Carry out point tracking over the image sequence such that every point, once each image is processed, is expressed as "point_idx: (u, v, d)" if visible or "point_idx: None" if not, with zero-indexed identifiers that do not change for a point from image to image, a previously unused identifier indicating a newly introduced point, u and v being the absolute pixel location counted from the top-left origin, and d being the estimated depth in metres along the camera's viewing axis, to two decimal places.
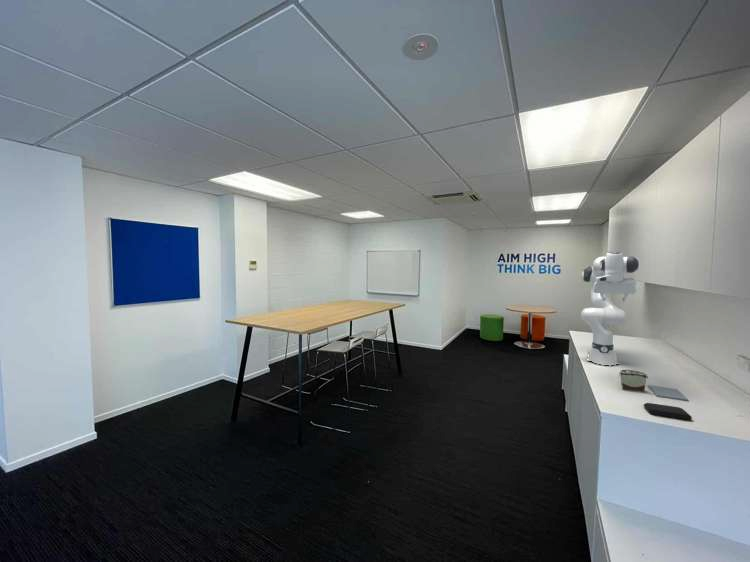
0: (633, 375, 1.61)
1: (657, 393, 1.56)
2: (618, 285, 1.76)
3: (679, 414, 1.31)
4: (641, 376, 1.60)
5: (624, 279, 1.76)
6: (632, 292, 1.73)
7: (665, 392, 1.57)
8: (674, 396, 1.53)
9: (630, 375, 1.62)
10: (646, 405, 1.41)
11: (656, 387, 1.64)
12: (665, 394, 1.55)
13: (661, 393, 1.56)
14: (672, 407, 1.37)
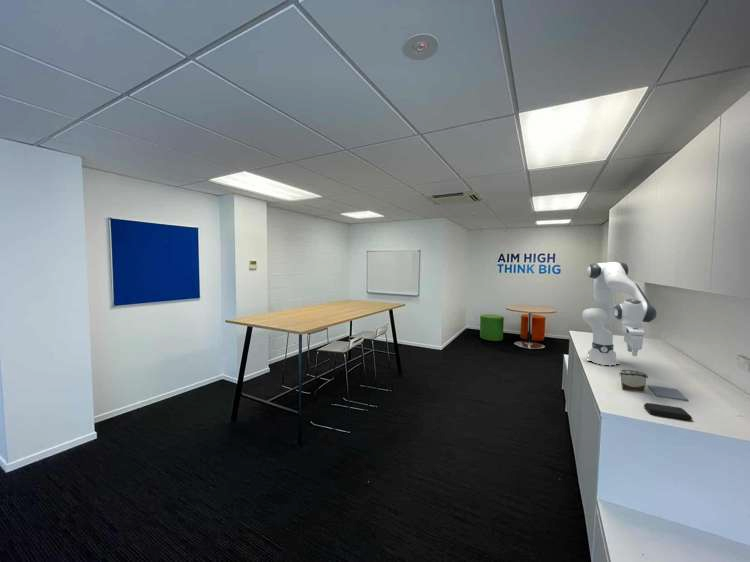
0: (633, 375, 1.61)
1: (657, 393, 1.56)
2: None
3: (679, 414, 1.31)
4: (641, 376, 1.60)
5: None
6: None
7: (665, 392, 1.57)
8: (674, 396, 1.53)
9: (630, 375, 1.62)
10: (646, 405, 1.40)
11: (656, 387, 1.64)
12: (665, 394, 1.55)
13: (661, 393, 1.56)
14: (672, 407, 1.37)
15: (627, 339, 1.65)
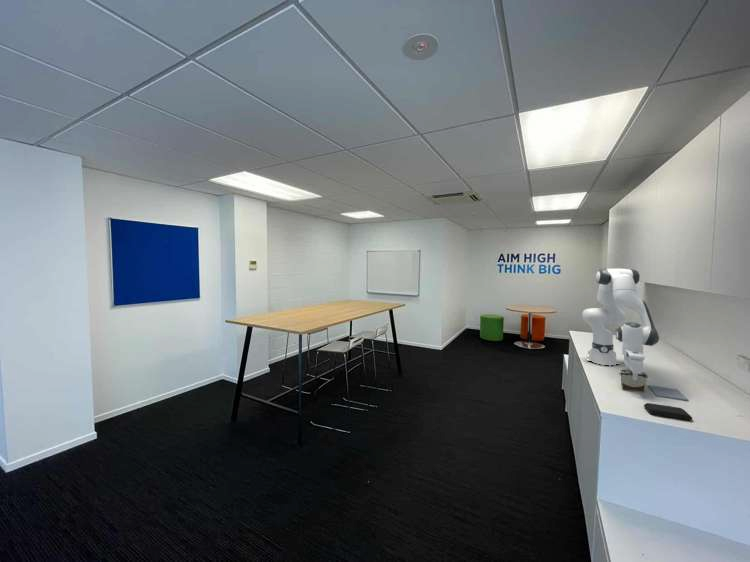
0: None
1: (657, 393, 1.56)
2: None
3: (679, 414, 1.31)
4: (641, 376, 1.60)
5: None
6: None
7: (665, 392, 1.57)
8: (674, 396, 1.53)
9: (630, 375, 1.62)
10: (646, 405, 1.40)
11: (656, 387, 1.64)
12: (665, 394, 1.55)
13: (661, 393, 1.56)
14: (672, 407, 1.37)
15: (627, 362, 1.66)
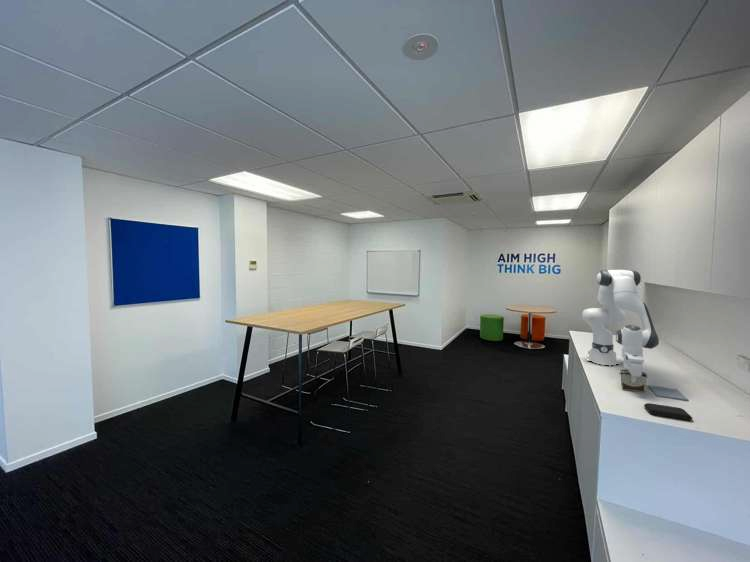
0: None
1: (657, 393, 1.56)
2: None
3: (679, 414, 1.31)
4: (641, 376, 1.60)
5: None
6: None
7: (665, 392, 1.57)
8: (674, 396, 1.53)
9: (630, 375, 1.62)
10: (646, 405, 1.40)
11: (656, 387, 1.64)
12: (665, 394, 1.55)
13: (661, 393, 1.56)
14: (673, 407, 1.37)
15: (626, 365, 1.66)
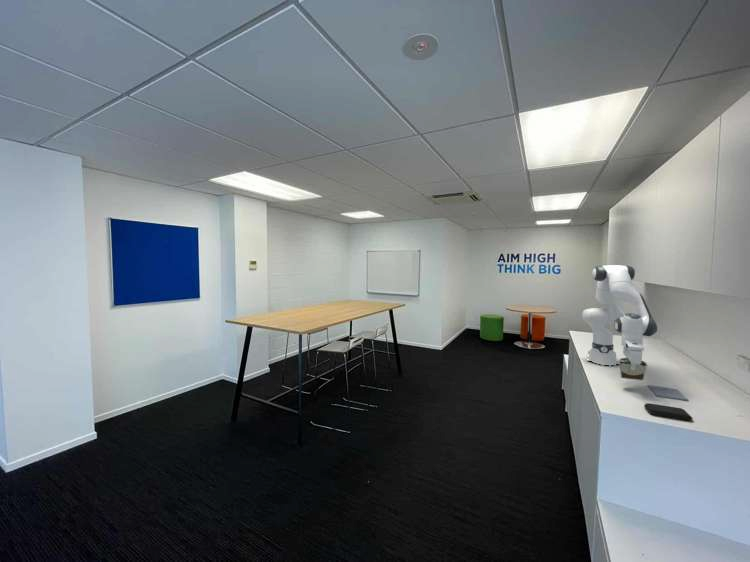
0: None
1: (657, 393, 1.56)
2: None
3: (679, 414, 1.31)
4: (640, 365, 1.60)
5: None
6: None
7: (665, 392, 1.57)
8: (674, 396, 1.53)
9: (629, 364, 1.62)
10: (646, 405, 1.40)
11: (656, 387, 1.64)
12: (665, 394, 1.55)
13: (661, 393, 1.56)
14: (673, 407, 1.36)
15: (626, 353, 1.66)
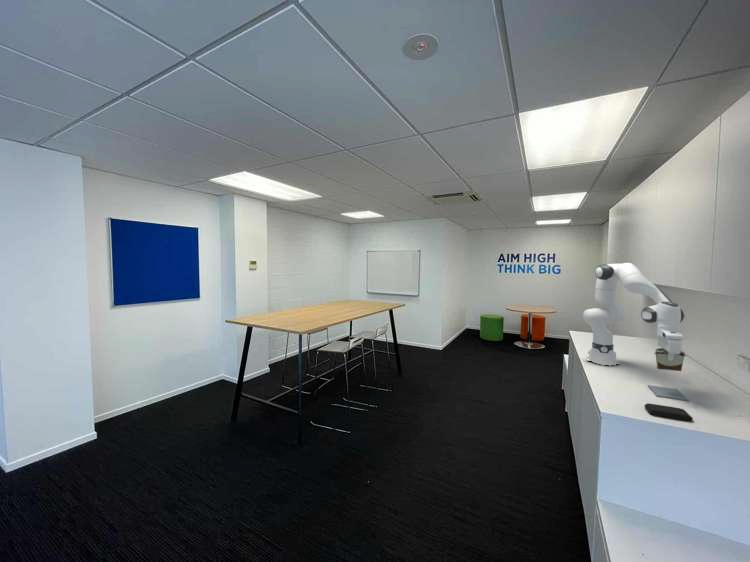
0: None
1: (657, 393, 1.56)
2: None
3: (679, 414, 1.31)
4: (678, 355, 1.53)
5: None
6: None
7: (665, 392, 1.57)
8: (674, 396, 1.53)
9: (666, 354, 1.55)
10: (647, 406, 1.40)
11: (656, 387, 1.64)
12: (665, 394, 1.55)
13: (661, 393, 1.56)
14: (673, 408, 1.36)
15: (662, 343, 1.59)
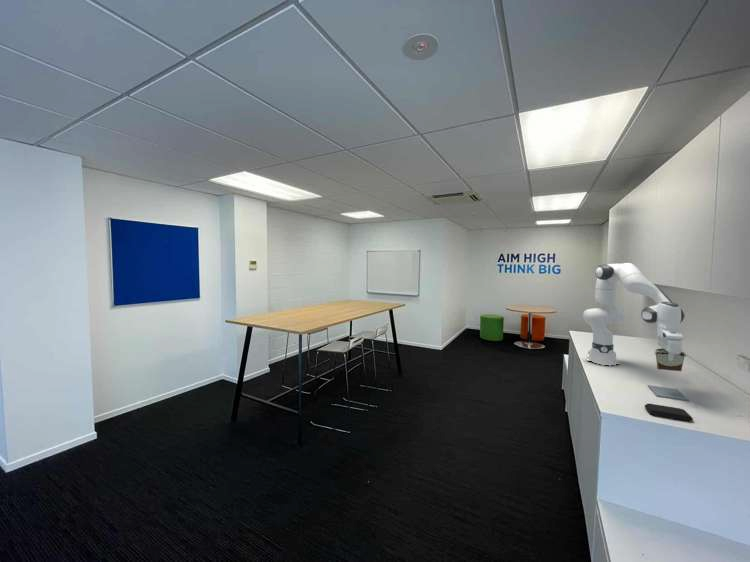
0: None
1: (657, 393, 1.56)
2: None
3: (679, 415, 1.30)
4: (678, 355, 1.53)
5: None
6: None
7: (665, 392, 1.57)
8: (674, 396, 1.53)
9: (666, 354, 1.55)
10: (647, 406, 1.40)
11: (656, 387, 1.64)
12: (665, 394, 1.55)
13: (661, 393, 1.56)
14: (673, 408, 1.36)
15: (662, 343, 1.59)
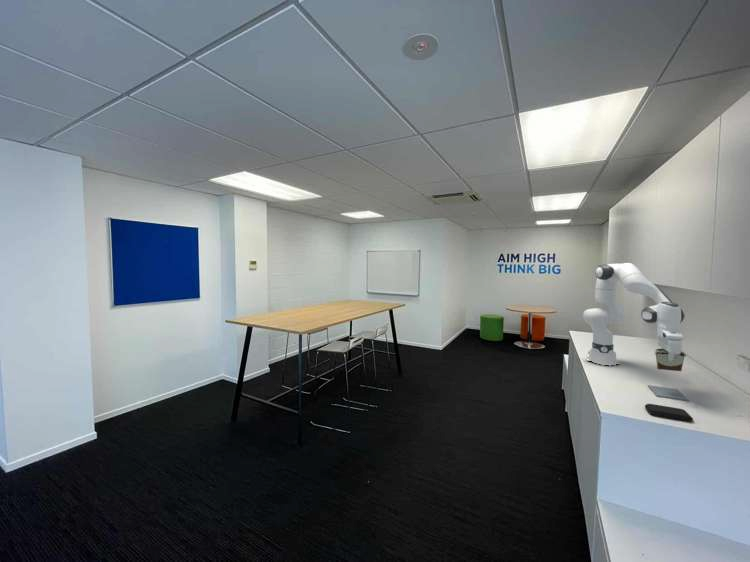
0: None
1: (657, 393, 1.56)
2: None
3: (680, 415, 1.30)
4: (678, 355, 1.53)
5: None
6: None
7: (665, 392, 1.57)
8: (674, 396, 1.53)
9: (666, 354, 1.55)
10: (647, 406, 1.40)
11: (656, 387, 1.64)
12: (665, 394, 1.55)
13: (661, 393, 1.56)
14: (674, 408, 1.36)
15: (662, 343, 1.59)
